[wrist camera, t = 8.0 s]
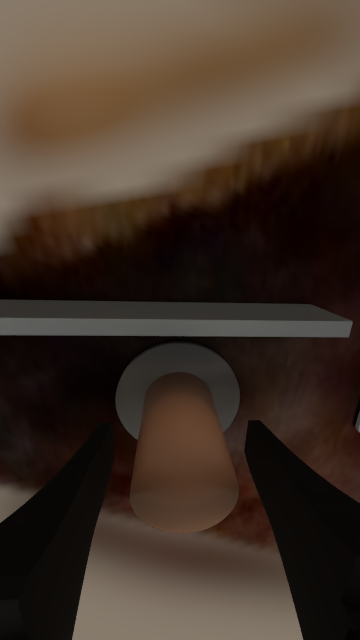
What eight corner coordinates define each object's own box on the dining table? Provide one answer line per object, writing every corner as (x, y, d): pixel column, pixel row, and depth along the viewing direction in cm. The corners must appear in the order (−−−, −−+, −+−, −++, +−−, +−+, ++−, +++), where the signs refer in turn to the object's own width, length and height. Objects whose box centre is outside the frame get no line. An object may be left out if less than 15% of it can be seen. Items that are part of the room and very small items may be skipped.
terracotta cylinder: (214, 371, 15) (244, 451, 9) (210, 429, 16) (233, 531, 10) (143, 372, 14) (127, 453, 9) (144, 430, 16) (131, 535, 10)
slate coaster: (242, 339, 15) (246, 345, 14) (230, 441, 17) (233, 450, 17) (114, 339, 15) (111, 344, 14) (120, 443, 17) (118, 452, 16)
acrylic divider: (310, 304, 15) (352, 321, 11) (307, 316, 15) (348, 337, 11) (-31, 299, 13) (-96, 316, 10) (-28, 312, 14) (-91, 334, 10)
